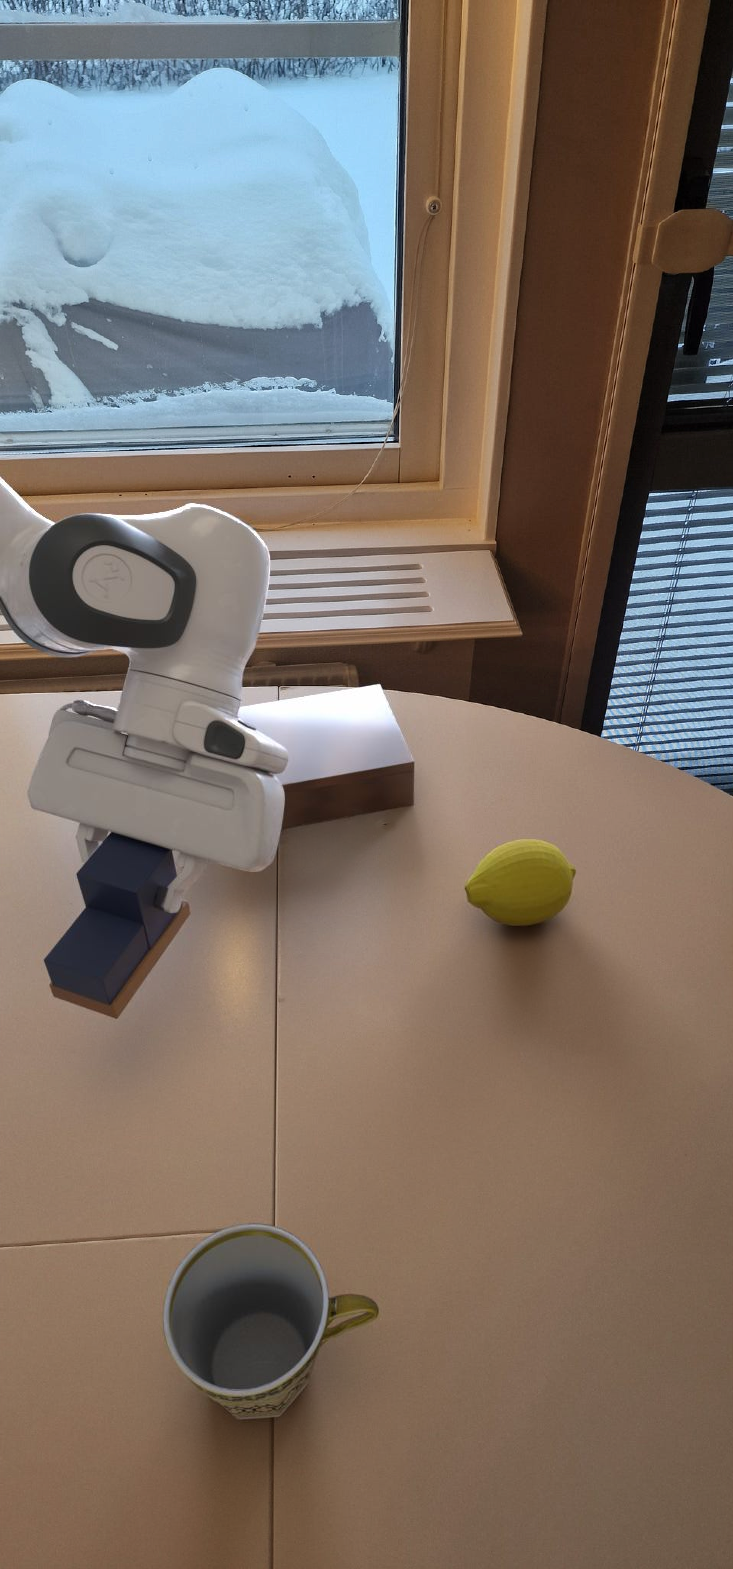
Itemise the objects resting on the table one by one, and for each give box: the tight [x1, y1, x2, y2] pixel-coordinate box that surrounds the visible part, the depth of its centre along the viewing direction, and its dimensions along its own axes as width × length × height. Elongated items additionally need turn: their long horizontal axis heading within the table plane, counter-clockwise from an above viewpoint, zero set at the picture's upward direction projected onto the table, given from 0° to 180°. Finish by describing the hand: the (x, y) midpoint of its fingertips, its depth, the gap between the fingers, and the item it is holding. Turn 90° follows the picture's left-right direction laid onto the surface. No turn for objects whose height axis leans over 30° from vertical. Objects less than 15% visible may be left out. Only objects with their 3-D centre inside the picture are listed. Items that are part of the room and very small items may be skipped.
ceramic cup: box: [162, 1222, 380, 1420], centre depth 66 cm, size 13×10×10 cm
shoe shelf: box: [238, 683, 415, 830], centre depth 111 cm, size 20×14×6 cm
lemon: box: [463, 838, 577, 927], centre depth 96 cm, size 11×8×8 cm
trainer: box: [43, 832, 192, 1020], centre depth 78 cm, size 11×6×8 cm, turn 158°
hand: (128, 898), depth 79 cm, fingers closed on trainer, 5 cm apart
